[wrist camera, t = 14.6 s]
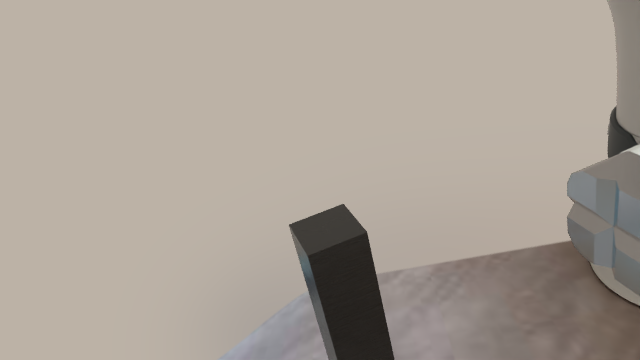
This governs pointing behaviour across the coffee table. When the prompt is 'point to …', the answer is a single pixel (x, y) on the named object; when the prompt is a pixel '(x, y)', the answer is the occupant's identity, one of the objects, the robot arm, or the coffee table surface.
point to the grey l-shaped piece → (343, 285)
